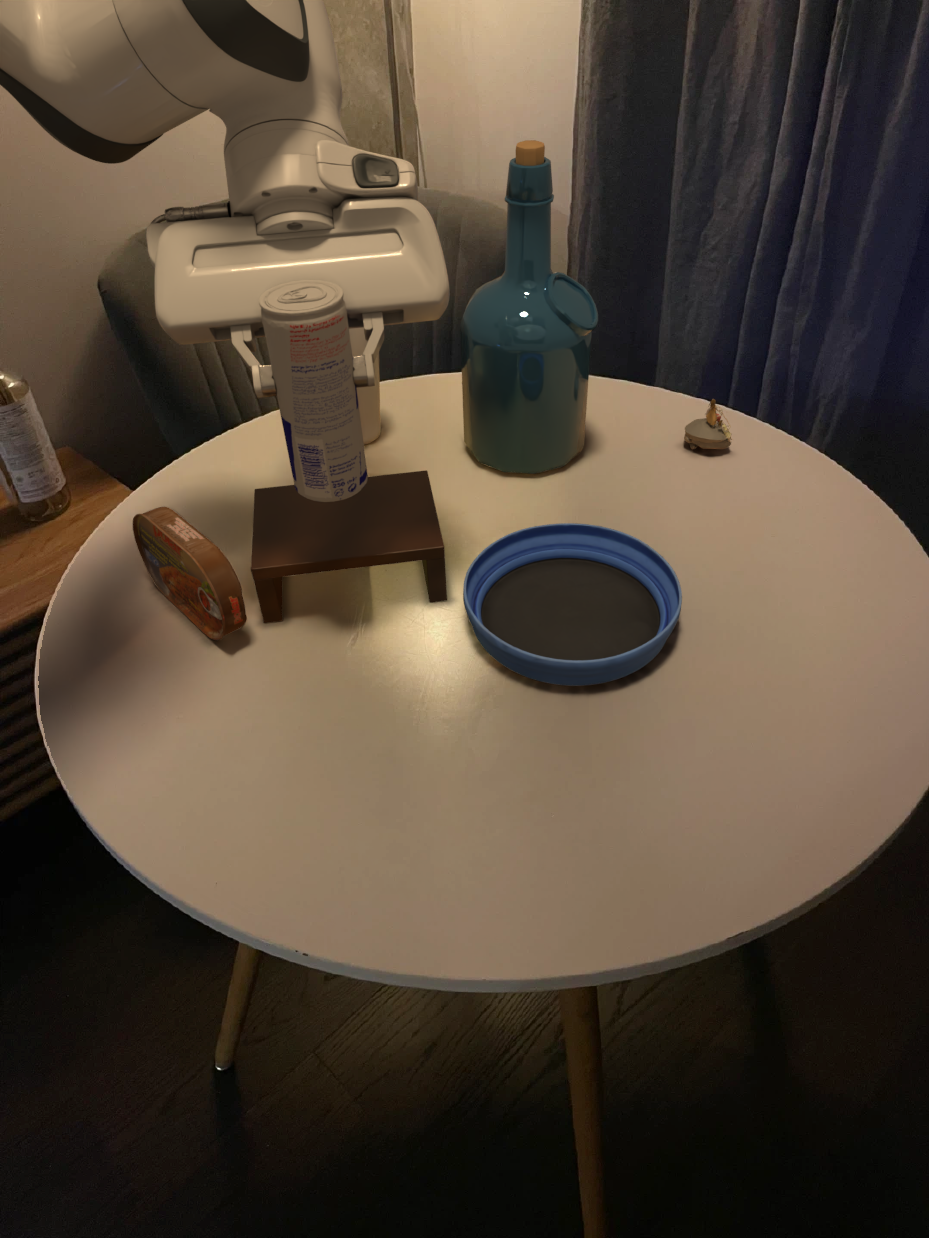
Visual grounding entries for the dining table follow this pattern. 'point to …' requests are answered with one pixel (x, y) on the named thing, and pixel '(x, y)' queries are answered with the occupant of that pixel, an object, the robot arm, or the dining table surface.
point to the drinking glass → (367, 391)
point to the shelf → (345, 535)
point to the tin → (190, 571)
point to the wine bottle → (527, 340)
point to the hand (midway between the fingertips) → (316, 390)
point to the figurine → (708, 431)
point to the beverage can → (315, 387)
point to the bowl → (571, 603)
